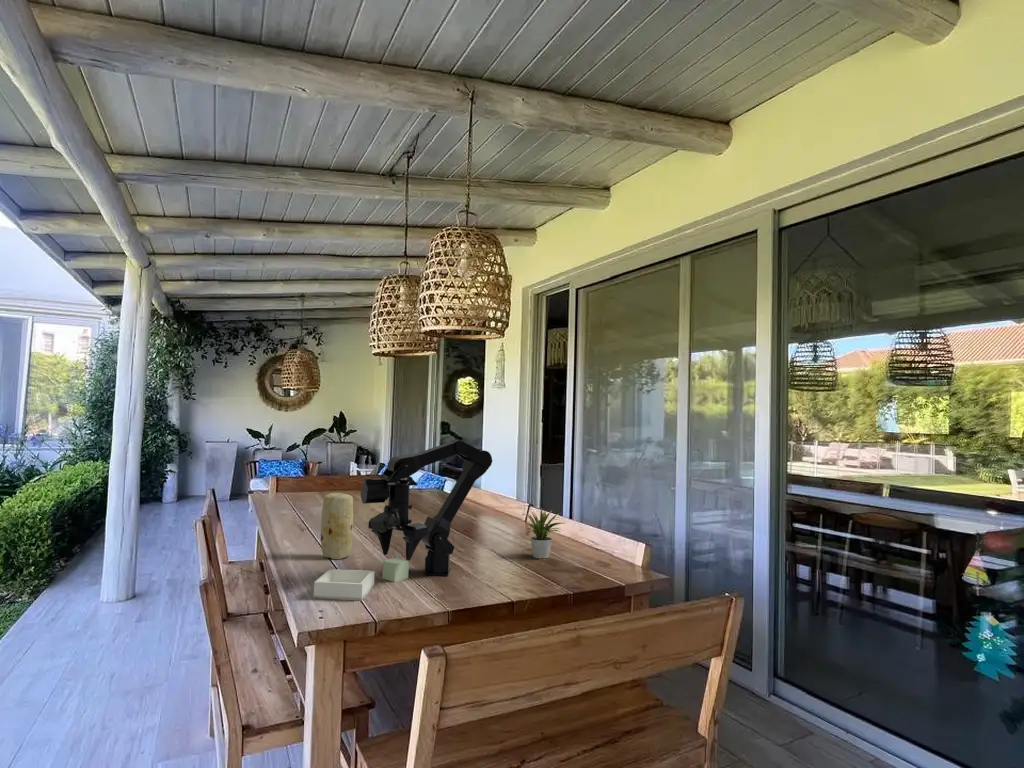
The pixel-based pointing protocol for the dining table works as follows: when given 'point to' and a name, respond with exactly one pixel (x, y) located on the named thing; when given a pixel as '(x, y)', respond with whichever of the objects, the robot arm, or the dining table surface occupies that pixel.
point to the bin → (344, 584)
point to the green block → (395, 569)
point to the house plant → (541, 534)
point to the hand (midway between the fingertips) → (396, 557)
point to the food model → (337, 525)
